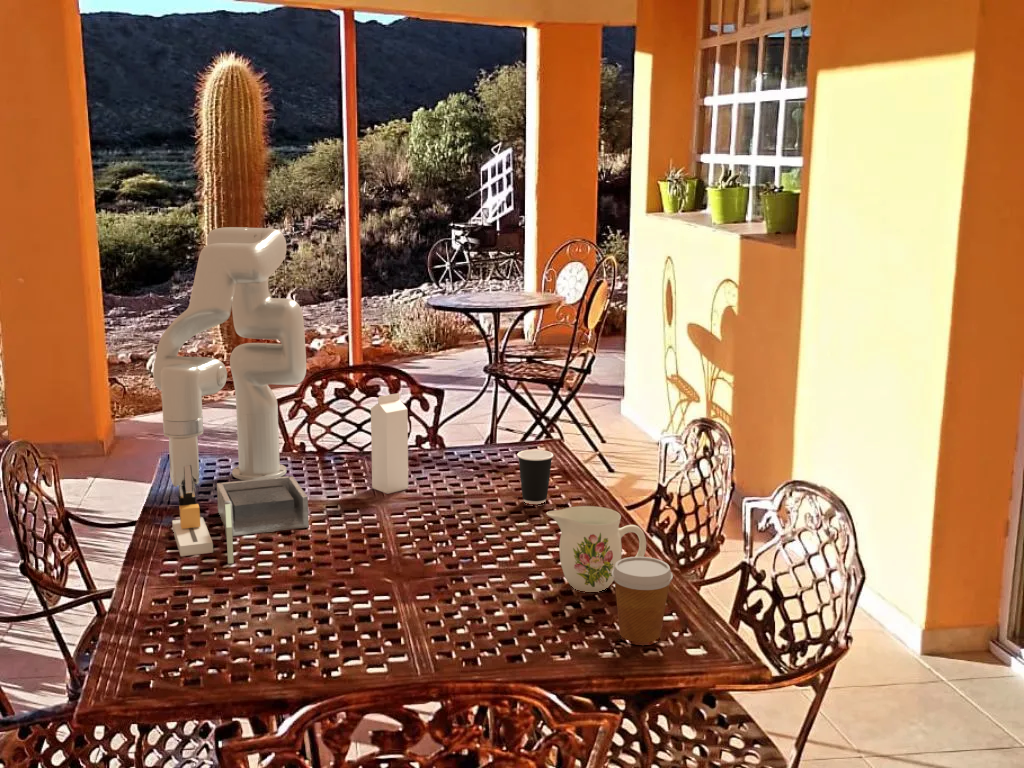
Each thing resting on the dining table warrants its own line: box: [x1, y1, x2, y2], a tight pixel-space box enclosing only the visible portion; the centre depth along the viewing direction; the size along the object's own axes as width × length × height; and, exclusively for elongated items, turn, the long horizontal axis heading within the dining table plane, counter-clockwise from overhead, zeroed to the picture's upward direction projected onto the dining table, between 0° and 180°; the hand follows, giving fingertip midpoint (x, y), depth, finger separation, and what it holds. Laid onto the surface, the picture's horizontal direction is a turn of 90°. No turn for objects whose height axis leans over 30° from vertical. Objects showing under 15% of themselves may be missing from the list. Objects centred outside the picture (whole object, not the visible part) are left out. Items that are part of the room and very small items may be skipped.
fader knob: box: [178, 503, 201, 529], centre depth 215 cm, size 2×4×4 cm, turn 112°
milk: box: [370, 392, 409, 494], centre depth 247 cm, size 6×6×22 cm
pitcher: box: [545, 505, 647, 593], centre depth 192 cm, size 11×18×14 cm, turn 97°
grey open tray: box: [216, 475, 309, 537], centre depth 226 cm, size 16×16×6 cm
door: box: [224, 501, 235, 564], centre depth 208 cm, size 1×16×7 cm, turn 15°
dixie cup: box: [516, 449, 554, 504], centre depth 239 cm, size 8×8×11 cm
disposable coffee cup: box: [612, 556, 674, 642], centre depth 171 cm, size 10×10×12 cm
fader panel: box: [171, 516, 214, 557], centre depth 213 cm, size 16×6×2 cm, turn 22°
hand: (188, 514), depth 218 cm, fingers closed
